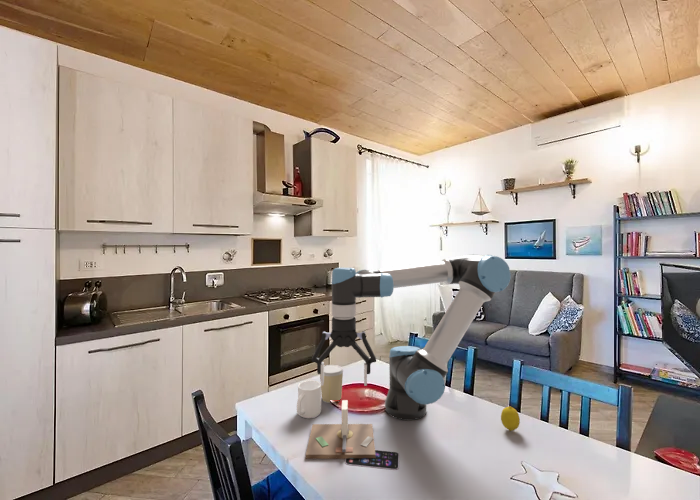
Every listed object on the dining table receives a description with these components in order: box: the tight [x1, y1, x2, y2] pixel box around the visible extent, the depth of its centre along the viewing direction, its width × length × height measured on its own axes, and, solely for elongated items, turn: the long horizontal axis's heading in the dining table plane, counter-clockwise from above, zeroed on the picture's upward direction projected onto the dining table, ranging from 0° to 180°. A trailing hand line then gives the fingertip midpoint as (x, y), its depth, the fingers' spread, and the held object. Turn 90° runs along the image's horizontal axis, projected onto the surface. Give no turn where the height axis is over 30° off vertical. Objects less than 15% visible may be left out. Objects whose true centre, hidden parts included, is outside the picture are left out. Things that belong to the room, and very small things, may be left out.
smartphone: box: [344, 449, 400, 471], centre depth 95 cm, size 8×1×15 cm
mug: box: [296, 380, 322, 419], centre depth 119 cm, size 12×8×10 cm
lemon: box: [500, 405, 521, 432], centre depth 108 cm, size 6×6×8 cm
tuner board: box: [305, 423, 376, 460], centre depth 102 cm, size 20×16×1 cm
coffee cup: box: [319, 364, 344, 404], centre depth 131 cm, size 9×9×12 cm
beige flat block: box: [341, 399, 349, 452], centre depth 101 cm, size 2×13×9 cm, turn 179°
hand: (343, 383), depth 104 cm, fingers open, 13 cm apart
